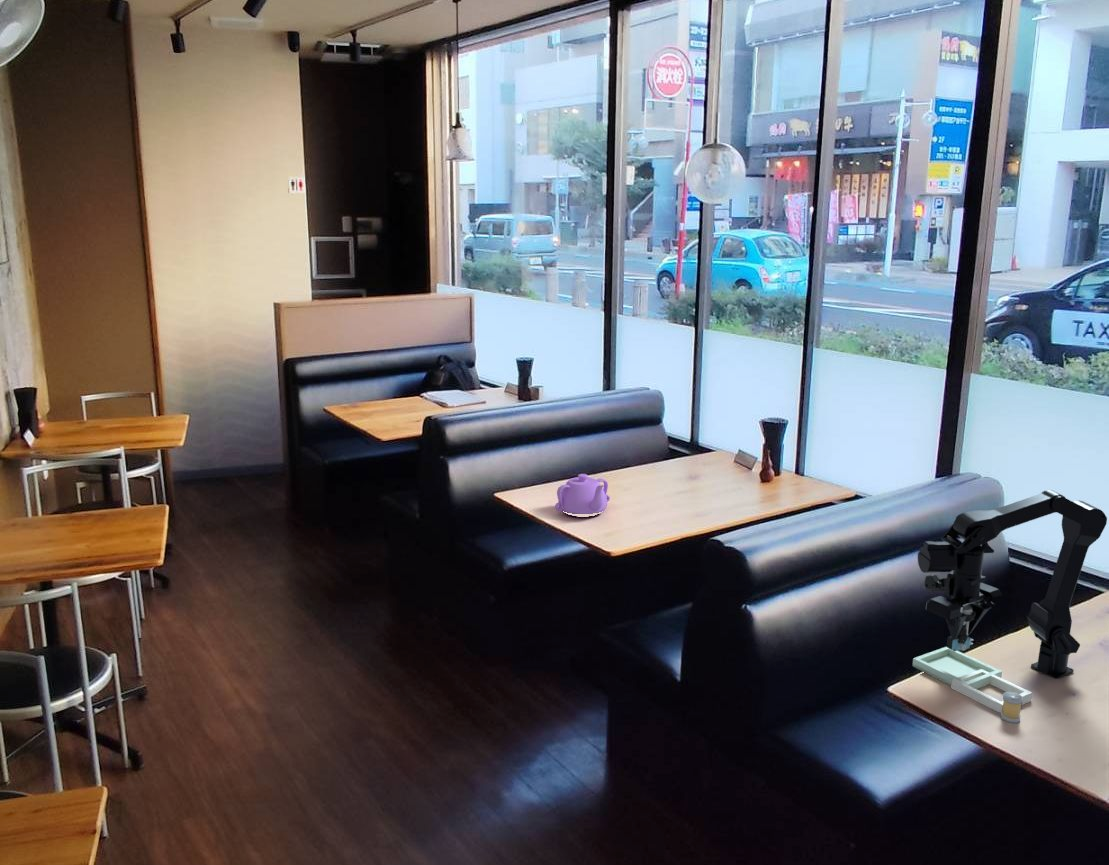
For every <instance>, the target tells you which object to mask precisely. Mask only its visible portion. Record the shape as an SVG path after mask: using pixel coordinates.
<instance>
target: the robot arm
mask: <svg viewBox="0 0 1109 865" xmlns="http://www.w3.org/2000/svg"><path fill="white" fill-rule="evenodd" d="M1055 513H1057V514H1059V515H1062V518H1061V519H1062V520H1061V529H1062V534H1063V535H1062V536H1063V542H1062V545H1061V548H1060V550H1059V554H1058V557H1057V559H1056V564H1055V566H1054V570H1053V573H1052V576H1051V579H1050V582H1049V585H1048V589H1047V590H1046V591H1047V592H1046V594H1045V598H1044V599H1043V600H1041V601H1040V602H1038V603H1037V602H1032V603H1031V606H1030V612H1029V613H1028V615H1027V616H1026V618H1027V619H1028V626H1029V628H1030V629H1031V630H1032V632H1033V634H1034V637H1035V638H1037V639H1039V641H1040V645H1039V652H1038V657H1037V662H1034V663H1031V664H1030V668H1033V669H1035V670H1036V671H1039V672H1041V673H1044V674H1045V675H1048V676H1050V677H1052V678H1055V679H1060V678H1062V677H1064V676H1067V675H1070V674H1072V673H1074V671H1075V670H1074V669H1073V668H1072V667H1069V666H1068V664H1069V657H1070V655H1071V654H1076V653H1078V650H1079V648H1080V646H1081V644H1080V642H1078V641H1077V640H1076V639H1075V637H1074V636H1073V635H1072V634H1071V629H1072V623H1073V620H1072V616H1071V611H1070V606H1071V602H1072V599H1073V597H1074V593H1075V590H1076V586H1077V584H1078V581H1079V577H1080V575H1081V572H1082V568H1083V566H1084V562H1085V559H1086V556H1087V554H1088V551H1089V548H1090V546H1091V545H1093V544H1094V543H1095V542H1096V541H1097V540H1099V538H1101V536H1102V534H1103V531H1104V530H1105V528H1106V526H1107V524H1108V517H1107V515H1106V514H1105V512H1104V511H1103V510H1102V509H1100V508H1097V507H1095V506H1094V505H1093V504H1089V503H1087V502H1086V501H1084V500H1077V499H1076V500H1074V501H1072V500H1070V499H1068V498H1066V496H1064V495H1063V494H1061V493H1058V492H1057V491H1054V490H1052V489H1047V490H1044V491H1042V492H1040V493H1039V494H1036V495H1032V496H1030V497H1027V498H1025V499H1021V500H1018V501H1014V502H1012V503H1009V504H1007V505H1003V506H1001V507H998V508H994V509H990V510H989V509H988V510H987V509H986V510H985V509H984V510H983V509H982V510H980V509H978V510H972V511H966V512H962V513H960V514H958V515H957V516H956V517H955V520H954V522H953V524H952V525H951V526H950V527H949V528H948V530H946V531H945V533H944V534H943V535H942V537H941V538H940V539H941V540H942V541H932V540H928V541H927V540H926V541H924V542H923V546H921V547H920V548H919V551H918V552H917V565H918V567H919V569H920V571H921V572H922V573H925V574H926V573H927V574H928V573H929V574H928V575H926V576H925V579H924V583H923V584H924V587H925V589H926V590H928V591H929V590H930V593H935V592H943V594H944V595H945V596H947V597H949V596H950V597H951V598H946V597H945V596H942V595H939V596H935V597H932V598H929V599H928V600H927V601H926V604H925V611H926V612H929V613H931V614H934V615H935V616H938V617H941V618H943V619H945V620H946V623H947V627H948V630H949V634H950V636H951V637H952V638H953V639H957V637H958V635H959V633H960V631H961V628H962V626H963V624H964V621H965V619H966V617H967V615H966V614H964V613H962V610H963V607H964V606H965V605H969V606H971V607H972V610H974V611H975V612H976V616H975V617H974V620H972V621H970V622H969V628H968V635H970V634H971V633H973V631H974V629H975V628H976V627H977V625H978V624H979V622H980V621H981V620H982V618H983V617H984V616H985V615H986V614H987V613H988V611H989V610H991V609H992V605H996V604H1000V603H1002V601H1003V593H1002V592H1001V589H999V588H997V587H994V586H991V585H989V584H986V583H984V582H986V576H984V575H982V573H983V565H984V564H983V563H984V555H985V554H993V553H995V549H993V548H992V547H991V546H990V545H989V542H990V541H992V540H994V539H996V538H997V537H998V536H999V535H1000V533H1002V532H1003V531H1005V530H1007V529H1010V528H1013V527H1017V526H1020V525H1022V524H1025V523H1028V522H1030V521H1033V520H1037V519H1040V518H1043V517H1046V516H1048V515H1053V514H1055ZM958 537H959V538H961V539H962V540H963V541H961V540H960V539H958ZM930 573H931V574H930ZM932 573H934V574H932ZM935 573H947V574H935ZM986 598H989V602H990V603H991V604H992V605H990V604H987V601H986Z"/></svg>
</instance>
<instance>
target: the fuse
mask: <svg viewBox="0 0 1109 865" xmlns="http://www.w3.org/2000/svg"><path fill="white" fill-rule="evenodd" d="M1002 699H1003V701H1004V702H1003V710H1002V712H1001V713H1000V718H1001V720H1003V721H1004V722H1008V723H1011V724H1018V723H1020V722H1021V707H1022V706H1021V703H1022V702H1023V697H1022V696H1021V695H1019V694H1017V693H1014V692H1005V691H1004V692H1003V694H1002Z"/></svg>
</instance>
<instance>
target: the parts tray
mask: <svg viewBox="0 0 1109 865" xmlns="http://www.w3.org/2000/svg"><path fill="white" fill-rule="evenodd" d="M912 667H913V668H915V669H917V670H919V671H921V672H923V673H924V674H927V675H929V676H931V677H933V678H935V679H937V680H939V681H941V682H943V683H945V684H947V685H949V686H950V687H951V686H952V680H954V679H956V680H958V681H960V682H962V683H964V684H967V685H969V686H971V687H973V688H975V689H977V690H978V689H981V688H983V687H985V686H989V685H991V684H990V678H991V675H996V676H998V677H1000V678H1002V675H1003V670H1001V669H998V668H996V667H994V666H992V665H989V664H988V663H986V662H983V661H981V660H979V659H977V658H974V657H972V656H970V655H969V654H966V653H963V652H961V651H960V650H958V651H953V650H951V649H949V648H947V646H944V647H941V648H939V649H936V650H933V651H931V652H927V653H924V654H922V655H919V656H916V657H914V658H913V659H912ZM980 669H983V670H985V671H987V672H989V673H987V674H985V675H982V676H980V677H977V678H974V679H972V680H969V681H967V682H966V681H964V680H962V679H960V678H959V677H961V676H964V675H967V674H969V673H972V672H975V671H977V670H980Z"/></svg>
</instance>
